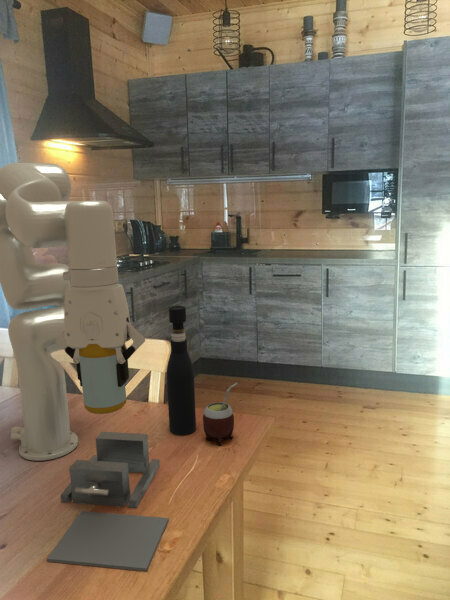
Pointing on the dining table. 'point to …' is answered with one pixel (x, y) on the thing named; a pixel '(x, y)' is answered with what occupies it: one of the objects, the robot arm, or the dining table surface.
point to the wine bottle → (180, 378)
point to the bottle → (100, 376)
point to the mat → (110, 541)
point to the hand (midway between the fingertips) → (103, 382)
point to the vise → (112, 471)
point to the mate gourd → (219, 420)
